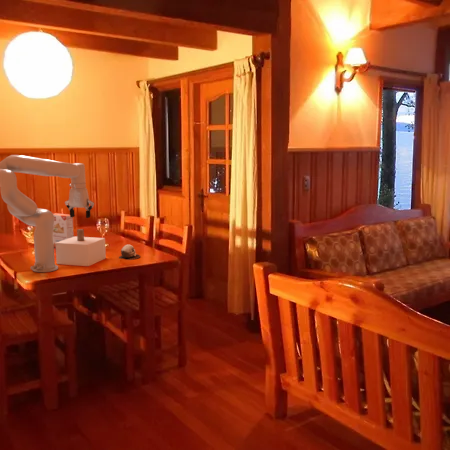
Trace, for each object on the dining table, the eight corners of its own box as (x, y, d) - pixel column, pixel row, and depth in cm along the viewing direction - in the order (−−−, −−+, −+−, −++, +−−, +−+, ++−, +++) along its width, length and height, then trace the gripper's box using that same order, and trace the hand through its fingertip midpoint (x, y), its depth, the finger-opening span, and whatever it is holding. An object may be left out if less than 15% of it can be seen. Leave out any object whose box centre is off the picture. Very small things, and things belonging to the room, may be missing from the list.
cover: (88, 266, 279) (86, 233, 276) (56, 263, 284) (54, 231, 281) (105, 258, 297) (104, 227, 294) (75, 256, 302) (74, 226, 299)
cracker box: (50, 247, 325) (48, 214, 322) (57, 245, 331) (56, 212, 327) (67, 249, 319) (65, 215, 315) (74, 247, 324) (73, 214, 321)
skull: (127, 252, 308) (136, 240, 303) (137, 265, 305) (146, 254, 300) (112, 255, 298) (121, 243, 293) (122, 269, 295) (131, 257, 290)
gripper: (60, 186, 282) (62, 217, 285) (89, 187, 278) (90, 219, 281) (68, 185, 289) (70, 215, 292) (96, 185, 285) (97, 216, 288)
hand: (80, 217), depth 286 cm, fingers open, 9 cm apart
